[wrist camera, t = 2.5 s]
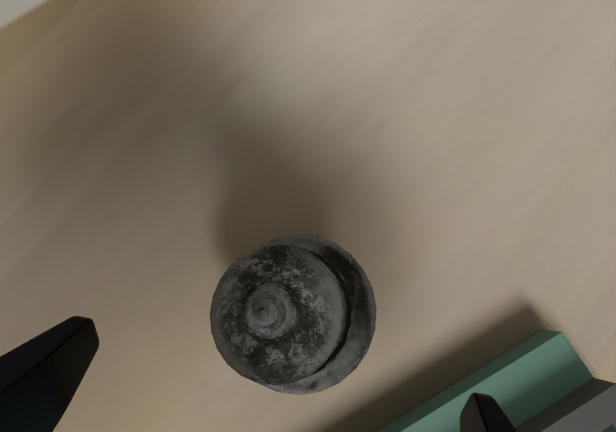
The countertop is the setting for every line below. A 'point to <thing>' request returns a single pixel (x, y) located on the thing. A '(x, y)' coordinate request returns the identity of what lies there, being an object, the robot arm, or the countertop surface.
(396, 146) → the countertop surface
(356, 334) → the weathered stone pawn
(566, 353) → the socket board
